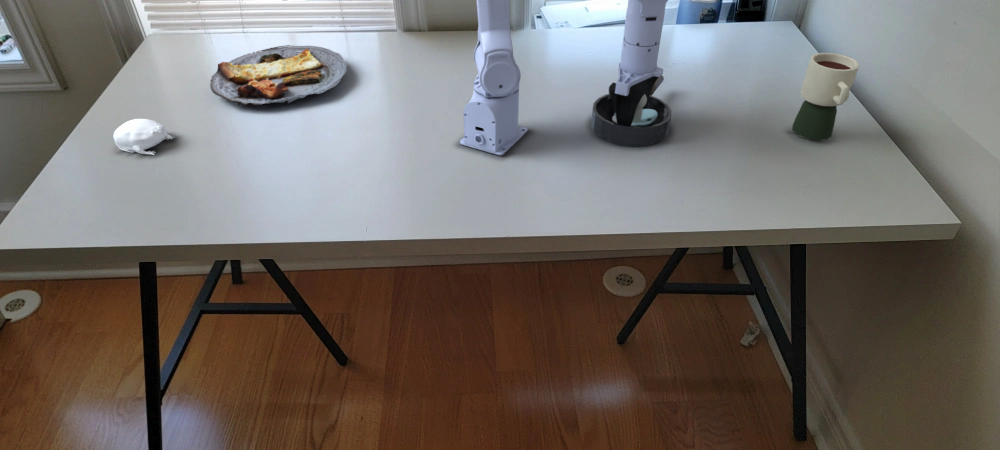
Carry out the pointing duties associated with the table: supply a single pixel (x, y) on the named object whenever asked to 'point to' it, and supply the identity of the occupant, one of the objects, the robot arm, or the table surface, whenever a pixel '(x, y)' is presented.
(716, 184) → the table surface
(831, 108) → the character mug
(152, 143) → the white frog figurine
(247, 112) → the table surface
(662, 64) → the table surface
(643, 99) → the pacifier
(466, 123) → the robot arm
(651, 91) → the pan handle
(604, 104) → the pan
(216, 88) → the food plate
